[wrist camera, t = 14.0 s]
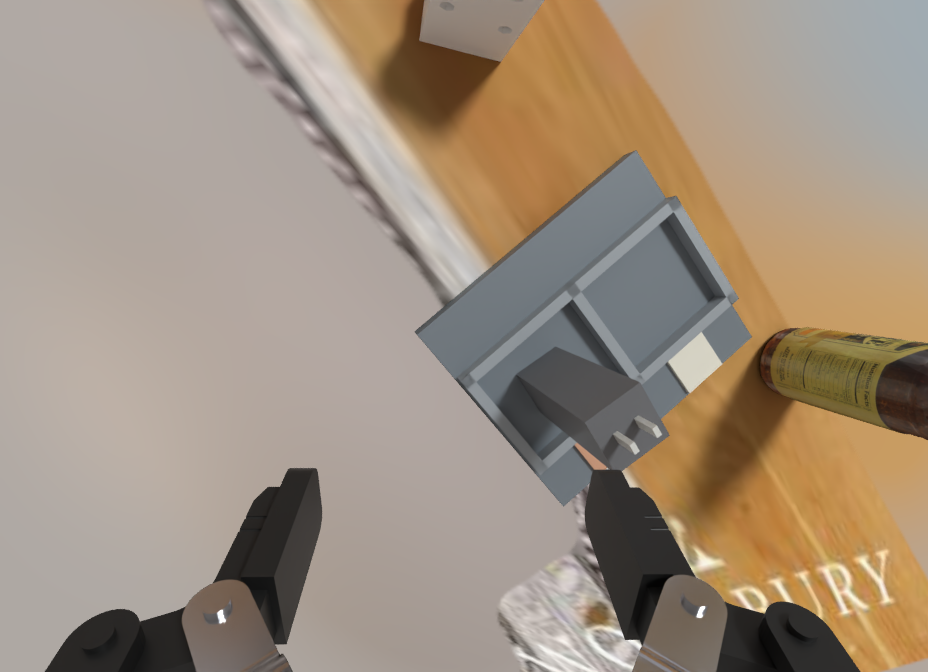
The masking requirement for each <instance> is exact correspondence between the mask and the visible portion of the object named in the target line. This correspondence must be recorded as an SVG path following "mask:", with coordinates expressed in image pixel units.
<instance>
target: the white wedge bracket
mask: <svg viewBox="0 0 928 672" xmlns="http://www.w3.org/2000/svg"><path fill="white" fill-rule="evenodd" d="M543 2H544V0H424V6H423V14H422V22H421V30H420V38H419V41H422V42H426V43H429V44H433V45H437V46H441V47H445V48H449V49H453V50H457V51H461V52H464V53H468V54H472V55H476V56H480V57H484V58H488V59H492V60H495V61H499V62H501V61H502V60H503V58H504V57H505V56H506V54H507V53H508V51H509V50H510V49H511V47H512V46H513V44H514V43H515V41H516V40H517V39H518V37H519V36H520V34H521V33H522V32H523V30H524V29H525V27H526V26H527V24H528V23H529V22H530V20H531V19H532V17H533V16H534V15H535V13H536V12H537V10H538V9H539V7H540V6H541V5H542V3H543Z"/></svg>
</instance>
